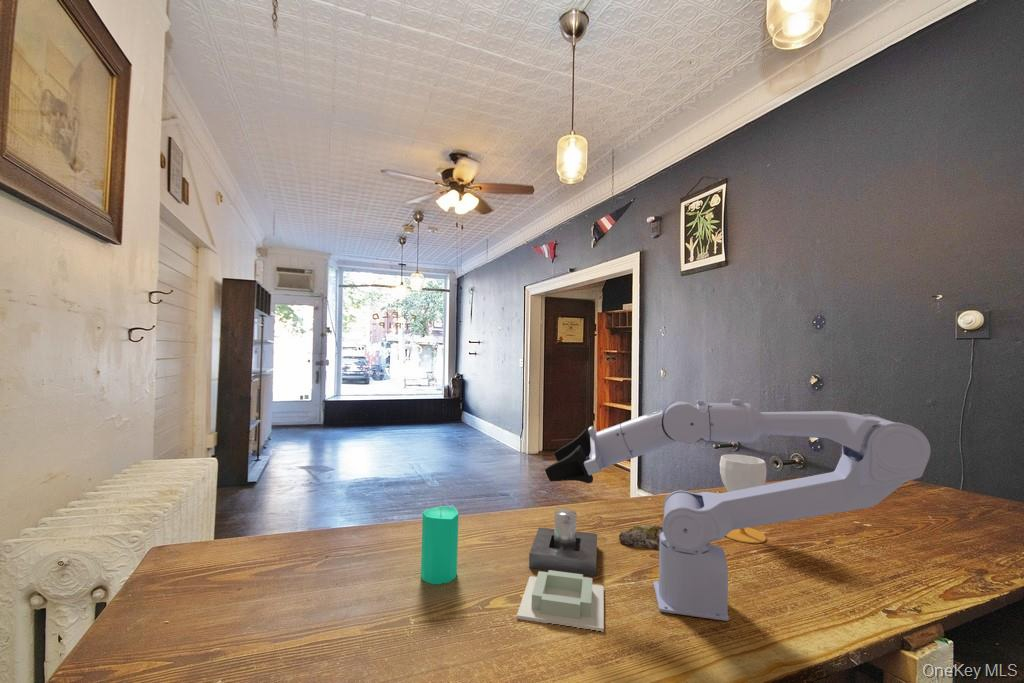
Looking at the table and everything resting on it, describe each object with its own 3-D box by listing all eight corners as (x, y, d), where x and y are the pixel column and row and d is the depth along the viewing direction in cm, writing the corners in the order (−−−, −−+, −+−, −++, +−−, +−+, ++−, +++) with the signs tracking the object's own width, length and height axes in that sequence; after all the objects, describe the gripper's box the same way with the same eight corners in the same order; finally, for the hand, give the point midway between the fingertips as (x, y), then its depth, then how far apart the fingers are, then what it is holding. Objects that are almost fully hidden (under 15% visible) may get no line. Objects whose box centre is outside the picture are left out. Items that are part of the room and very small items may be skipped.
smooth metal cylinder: (576, 553, 81) (577, 510, 81) (575, 563, 77) (575, 518, 77) (555, 550, 82) (556, 508, 82) (552, 560, 78) (553, 516, 78)
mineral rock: (654, 520, 93) (675, 523, 86) (657, 541, 92) (679, 547, 84) (608, 525, 91) (626, 529, 83) (611, 547, 89) (630, 554, 82)
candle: (422, 586, 68) (424, 510, 69) (419, 568, 74) (421, 498, 74) (459, 582, 70) (461, 507, 70) (454, 564, 76) (456, 495, 76)
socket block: (596, 546, 84) (597, 533, 84) (595, 576, 73) (596, 561, 73) (538, 539, 86) (538, 527, 86) (529, 567, 75) (529, 553, 75)
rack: (603, 589, 69) (603, 573, 69) (603, 632, 58) (603, 613, 58) (529, 579, 71) (530, 563, 71) (516, 618, 60) (517, 600, 61)
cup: (710, 531, 93) (711, 457, 93) (731, 522, 98) (731, 452, 98) (754, 547, 85) (755, 466, 86) (774, 536, 91) (774, 460, 91)
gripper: (619, 406, 76) (551, 431, 81) (614, 431, 63) (532, 460, 67) (635, 442, 76) (566, 466, 80) (634, 475, 63) (551, 502, 67)
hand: (552, 466), depth 74 cm, fingers open, 7 cm apart
